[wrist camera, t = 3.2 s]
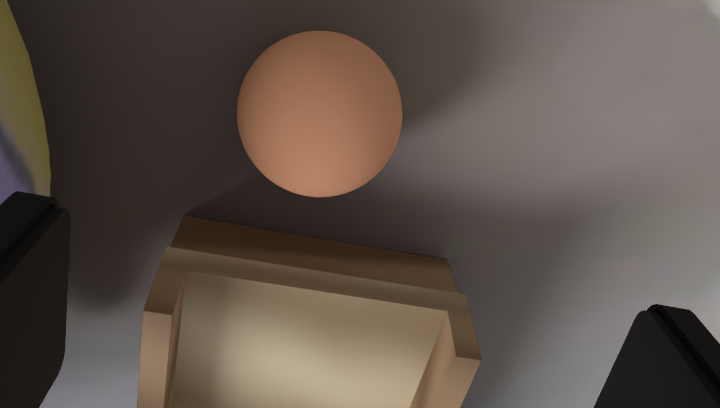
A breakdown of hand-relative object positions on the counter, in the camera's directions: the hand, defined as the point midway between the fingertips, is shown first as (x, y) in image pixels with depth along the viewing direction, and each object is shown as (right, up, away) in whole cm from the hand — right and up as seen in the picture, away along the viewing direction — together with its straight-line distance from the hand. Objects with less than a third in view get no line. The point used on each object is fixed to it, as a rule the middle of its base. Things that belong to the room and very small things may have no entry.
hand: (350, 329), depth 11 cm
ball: (-1, +5, +9) cm, 11 cm away
